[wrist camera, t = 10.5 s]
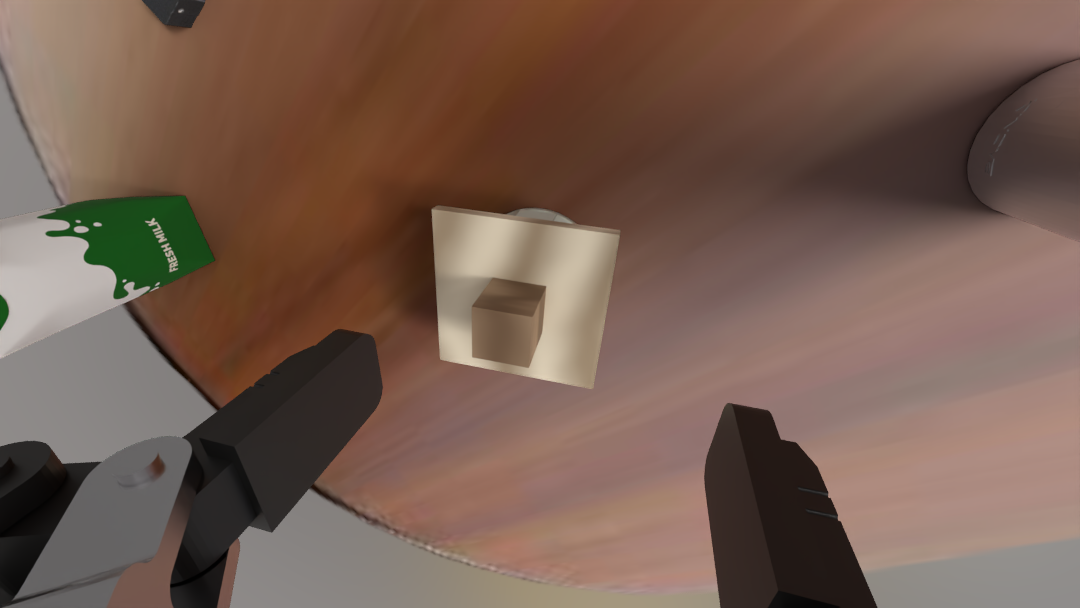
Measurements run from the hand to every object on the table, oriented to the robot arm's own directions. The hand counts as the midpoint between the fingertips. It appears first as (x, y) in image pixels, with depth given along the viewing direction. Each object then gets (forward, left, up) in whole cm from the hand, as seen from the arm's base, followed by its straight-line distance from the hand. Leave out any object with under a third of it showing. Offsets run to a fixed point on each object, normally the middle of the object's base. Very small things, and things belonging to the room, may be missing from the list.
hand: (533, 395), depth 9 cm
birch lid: (+5, +9, -20) cm, 23 cm away
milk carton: (+44, +11, -26) cm, 52 cm away
